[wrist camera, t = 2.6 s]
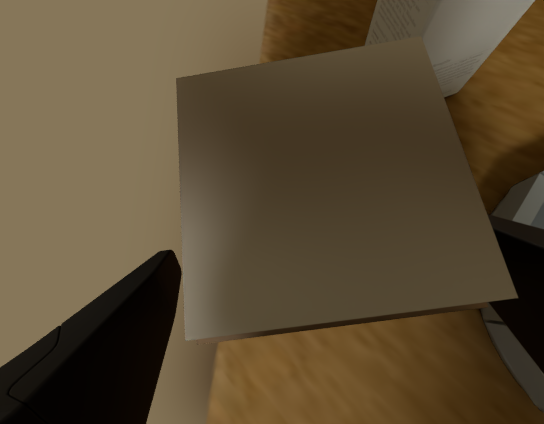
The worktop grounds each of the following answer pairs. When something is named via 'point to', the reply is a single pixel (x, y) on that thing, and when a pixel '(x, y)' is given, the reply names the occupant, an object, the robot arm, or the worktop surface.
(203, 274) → the walnut block
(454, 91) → the skincare box
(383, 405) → the worktop surface
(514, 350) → the slate dish
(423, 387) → the worktop surface
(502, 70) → the worktop surface
